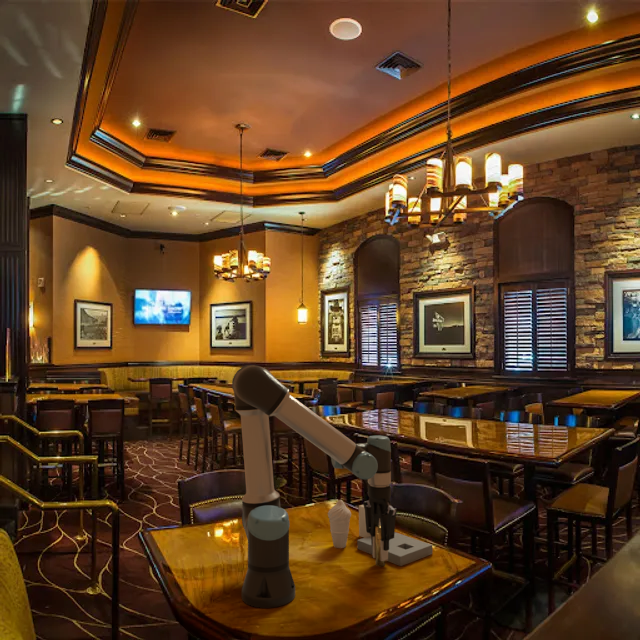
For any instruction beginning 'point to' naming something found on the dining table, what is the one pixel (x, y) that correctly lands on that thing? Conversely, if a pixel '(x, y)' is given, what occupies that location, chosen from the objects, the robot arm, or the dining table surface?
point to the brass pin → (378, 545)
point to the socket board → (400, 549)
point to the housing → (362, 522)
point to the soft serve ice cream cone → (339, 524)
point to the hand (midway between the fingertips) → (380, 558)
